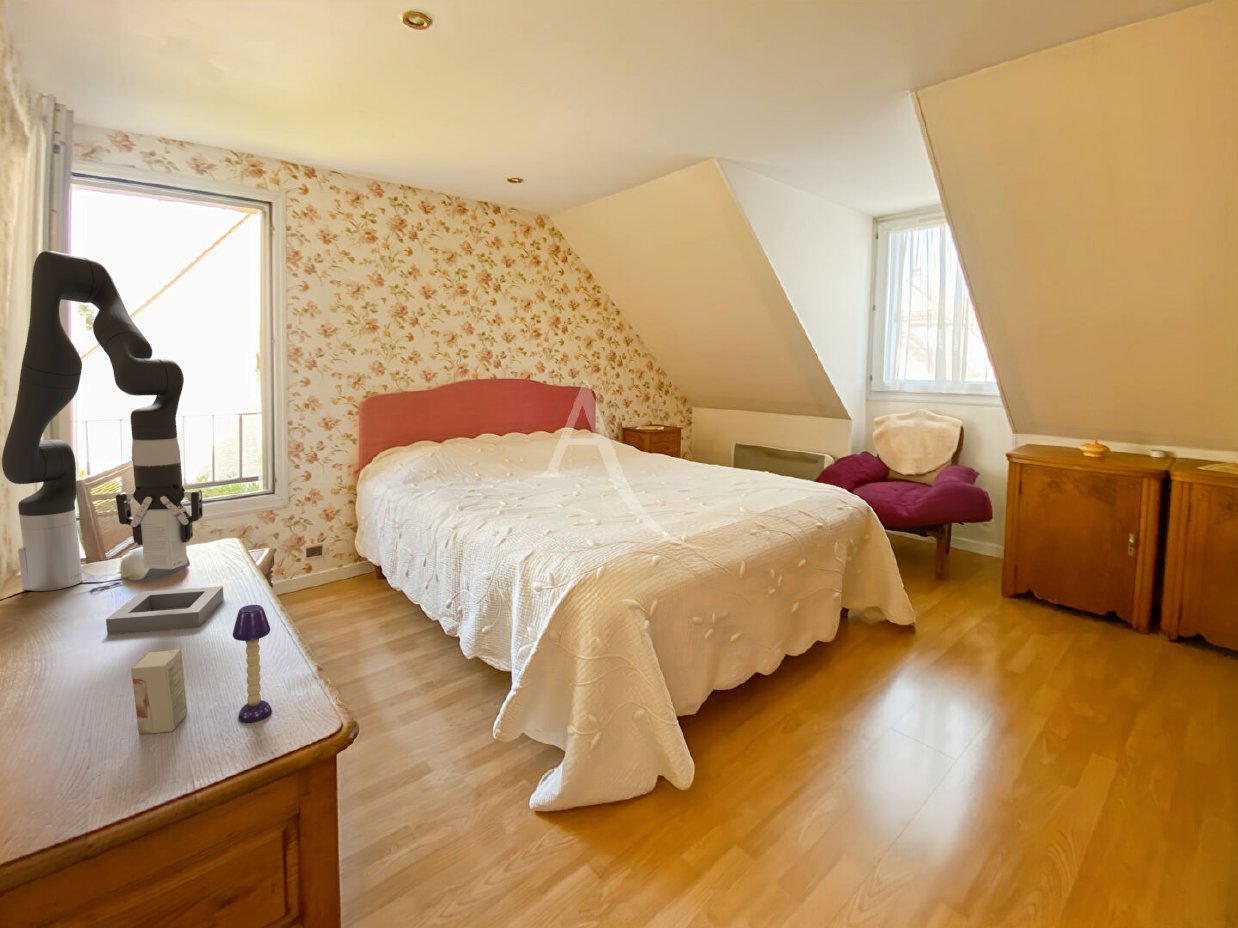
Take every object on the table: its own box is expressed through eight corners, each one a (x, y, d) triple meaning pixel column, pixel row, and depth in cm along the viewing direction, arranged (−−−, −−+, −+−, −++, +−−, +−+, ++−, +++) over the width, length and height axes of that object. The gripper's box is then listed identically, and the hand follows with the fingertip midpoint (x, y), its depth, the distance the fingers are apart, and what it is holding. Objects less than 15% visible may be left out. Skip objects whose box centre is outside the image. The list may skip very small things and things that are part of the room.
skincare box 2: (154, 715, 89) (149, 650, 87) (188, 712, 90) (183, 648, 88) (135, 736, 84) (128, 667, 82) (171, 732, 85) (166, 664, 83)
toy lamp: (281, 707, 92) (275, 601, 89) (264, 724, 87) (257, 614, 85) (248, 707, 92) (242, 601, 89) (230, 724, 87) (222, 613, 84)
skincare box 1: (188, 563, 124) (184, 506, 122) (171, 570, 120) (166, 511, 118) (161, 562, 125) (156, 505, 123) (143, 568, 121) (137, 509, 119)
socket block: (107, 634, 114) (105, 619, 114) (142, 605, 129) (141, 591, 128) (199, 626, 119) (198, 612, 119) (223, 599, 133) (222, 586, 133)
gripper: (205, 458, 125) (211, 536, 127) (122, 459, 121) (129, 540, 123) (192, 463, 118) (199, 545, 120) (103, 464, 114) (111, 550, 116)
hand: (164, 542), depth 122 cm, fingers closed on skincare box 1, 7 cm apart
